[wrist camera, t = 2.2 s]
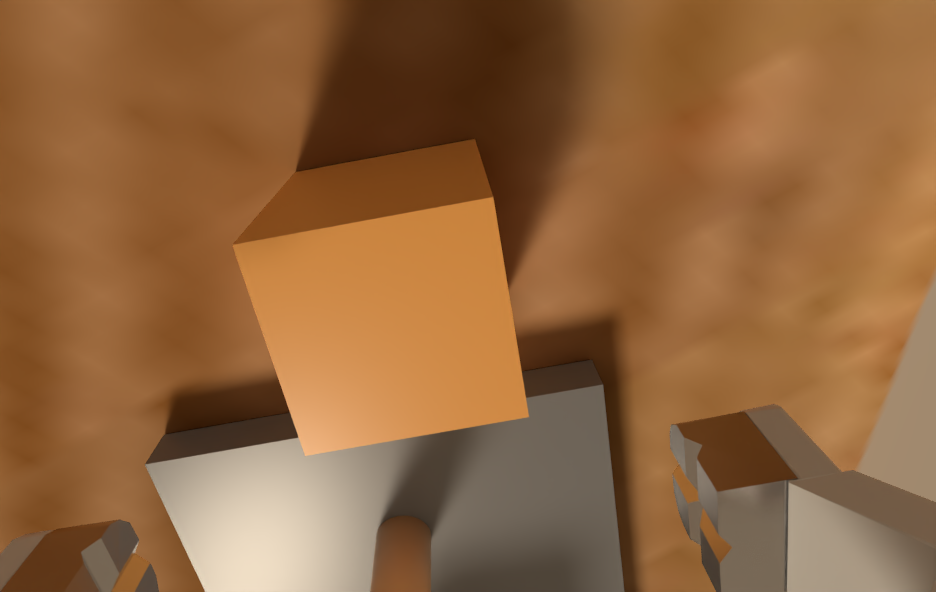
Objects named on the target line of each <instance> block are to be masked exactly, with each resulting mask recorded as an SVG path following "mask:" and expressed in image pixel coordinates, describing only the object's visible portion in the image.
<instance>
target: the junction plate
mask: <svg viewBox="0 0 936 592" xmlns="http://www.w3.org/2000/svg"><path fill="white" fill-rule="evenodd" d="M522 377H523V383H524V389H525V395H526V401H527V407H528V413H529V417H527V418H521V419H515V420H509V421H504V422H498V423H492V424H486V425H481V426H475V427H469V428H463V429H458V430H452V431H446V432H440V433H435V434H429V435H423V436H417V437H412V438H406V439H400V440H394V441H389V442H383V443H377V444H371V445H366V446H360V447H354V448H348V449H343V450H337V451H331V452H325V453H320V454H314V455H308V456H305V454H304V451H303V449H302V446H301V443H300V440H299V437H298V434H297V431H296V428H295V425H294V422H293V420H292V417H291V414H290V413H285V414H279V415H273V416H268V417H262V418H256V419H251V420H245V421H239V422H234V423H228V424H222V425H217V426H211V427H205V428H200V429H194V430H188V431H182V432H177V433H171V434H165V435H164V436H163V437H162V439H161V440H160V442H159V443H158V445H157V447H156V448H155V450H154V451H153V453H152V454H151V456H150V458H149V459H148V461H147V462H146V464H145V466H146V468H147V470H148V472H149V474H150V476H151V478H152V480H153V482H154V485H155V487H156V489H157V491H158V493H159V495H160V497H161V499H162V501H163V503H164V506H165V508H166V510H167V512H168V514H169V516H170V518H171V520H172V522H173V525H174V527H175V529H176V531H177V533H178V535H179V537H180V539H181V541H182V543H183V546H184V548H185V550H186V552H187V554H188V556H189V558H190V560H191V562H192V565H193V567H194V569H195V571H196V573H197V575H198V577H199V579H200V581H201V583H202V586H203V588H204V590H205V592H624V582H623V573H622V563H621V553H620V544H619V534H618V524H617V514H616V505H615V495H614V485H613V476H612V466H611V456H610V447H609V437H608V427H607V417H606V408H605V398H604V388H603V383H602V381H601V379H600V377H599V374H598V372H597V370H596V368H595V365H594V363H593V361H592V360H586V361H581V362H575V363H569V364H564V365H558V366H552V367H546V368H541V369H535V370H529V371H524V372H522Z"/></svg>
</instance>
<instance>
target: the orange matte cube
mask: <svg viewBox="0 0 936 592" xmlns="http://www.w3.org/2000/svg"><path fill="white" fill-rule="evenodd" d="M232 246H233V249H234V251H235V254H236V257H237V260H238V263H239V266H240V269H241V272H242V275H243V278H244V280H245V283H246V286H247V289H248V292H249V295H250V298H251V301H252V304H253V307H254V309H255V312H256V315H257V318H258V321H259V324H260V327H261V330H262V333H263V336H264V338H265V341H266V344H267V347H268V350H269V353H270V356H271V359H272V362H273V364H274V367H275V370H276V373H277V376H278V379H279V382H280V385H281V388H282V391H283V393H284V396H285V399H286V402H287V405H288V408H289V411H290V414H291V417H292V420H293V422H294V425H295V428H296V431H297V434H298V437H299V440H300V443H301V446H302V449H303V451H304V454H305V456H308V455H314V454H320V453H325V452H331V451H337V450H343V449H348V448H354V447H360V446H366V445H371V444H377V443H383V442H389V441H394V440H400V439H406V438H412V437H417V436H423V435H429V434H435V433H440V432H446V431H452V430H458V429H463V428H469V427H475V426H481V425H486V424H492V423H498V422H504V421H509V420H515V419H521V418H527V417H529V413H528V407H527V401H526V395H525V389H524V383H523V377H522V370H521V364H520V358H519V352H518V346H517V340H516V333H515V327H514V321H513V315H512V309H511V303H510V297H509V290H508V284H507V278H506V272H505V266H504V260H503V253H502V247H501V241H500V235H499V229H498V223H497V217H496V210H495V204H494V198H493V194H492V191H491V188H490V185H489V182H488V179H487V176H486V172H485V169H484V166H483V163H482V160H481V157H480V153H479V150H478V147H477V144H476V141H475V139H471V140H465V141H460V142H455V143H449V144H444V145H439V146H433V147H428V148H422V149H417V150H412V151H406V152H401V153H396V154H390V155H385V156H379V157H374V158H369V159H363V160H358V161H353V162H347V163H342V164H336V165H331V166H326V167H320V168H315V169H310V170H304V171H299V172H295V173H294V174H293V175H292V176H291V177H290V179H289V180H288V181H287V182H286V183H285V184H284V186H283V187H282V188H281V189H280V190H279V191H278V193H277V194H276V195H275V196H274V197H273V198H272V199H271V201H270V202H269V203H268V204H267V205H266V206H265V208H264V209H263V210H262V211H261V212H260V213H259V215H258V216H257V217H256V218H255V219H254V220H253V221H252V223H251V224H250V225H249V226H248V227H247V228H246V230H245V231H244V232H243V233H242V234H241V235H240V237H239V238H238V239H237V240H236V241H235V242H234V243H233V245H232Z"/></svg>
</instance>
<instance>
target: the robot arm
mask: <svg viewBox="0 0 936 592" xmlns="http://www.w3.org/2000/svg"><path fill="white" fill-rule="evenodd" d="M670 447H671V450H672V452H673V454H674V456H675V458H676V459H677V461H678V463H679V465H678V466H677V468H676V469H675V471H674V472H673V484H674V493H675V498H676V502H677V506H678V511H679V514H680V517H681V519H682V522H683V525H684V527H685V529H686V531H687V533H688V535H689V538H690V539H691V540H693V541H694V542H696V543H698V544H700V545H701V553H702V564H703V566H704V568H705V570H706V572H707V574H708V576H709V578H710V580H711V582H712V584H713V586H714V588H715V590H716V592H936V502H934V501H931V500H928V499H926V498H923V497H921V496H918V495H915V494H913V493H910V492H908V491H905V490H903V489H900V488H898V487H895V486H892V485H890V484H887V483H884V482H882V481H880V480H877V479H874V478H872V477H869V476H867V475H864V474H862V473H859V472H856V471H854V470H851V471H845V472H841V470H840V469H839V468H838V467H837V466H836V465H835V464H834V463H833V462H832V461H831V460H830V459H829V458H828V457H827V456H826V454H825V453H824V452H823V451H822V450H821V449H820V448H819V447H818V446H817V445H816V444H815V443H814V442H813V441H812V439H811V438H810V437H809V436H808V435H807V434H806V433H805V432H804V431H803V430H802V429H801V428H800V427H799V426H798V425H797V423H796V422H795V421H794V420H793V419H792V418H791V417H790V416H789V415H788V414H787V413H786V412H785V411H784V410H783V409H782V407H780V406H778V405H775V404H772V405H767V406H762V407H757V408H752V409H748V410H743V411H740V412H738V413H732V414H727V415H721V416H716V417H710V418H705V419H699V420H694V421H689V422H683V423H678V424H672V425H671V428H670ZM138 542H139V539H138V537H137V535H136V533H135V531H134V530H133V528H132V526H131V524H130V523H129V522H125V521H122V520H113V521H107V522H100V523H93V524H87V525H80V526H73V527H67V528H60V529H56V530H48V531H42V532H36V533H30V534H25V535H23V536H20V537H18V538H16V539H14V540H12V541H11V543H10V544H9V545H8V546H7V547H6V548H5V549H4V551H3V552H2V553H1V554H0V592H159V590H158V584H157V578H156V575H155V572H154V570H153V568H152V566H151V564H150V562H148V561H146V560H145V559H143V558H142V557H140V556H139V555H137V554H135V551H136V548H137V545H138Z"/></svg>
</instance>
